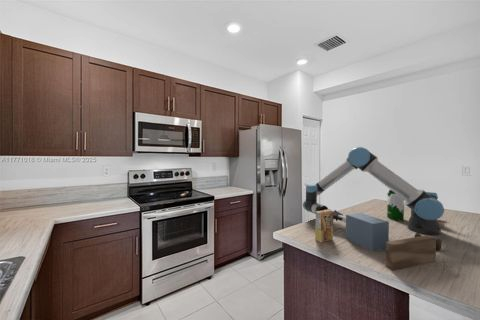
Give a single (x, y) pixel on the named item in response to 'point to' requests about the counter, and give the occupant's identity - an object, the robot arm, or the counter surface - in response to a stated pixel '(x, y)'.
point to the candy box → (324, 225)
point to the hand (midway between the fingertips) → (347, 220)
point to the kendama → (438, 242)
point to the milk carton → (395, 206)
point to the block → (367, 231)
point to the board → (410, 252)
